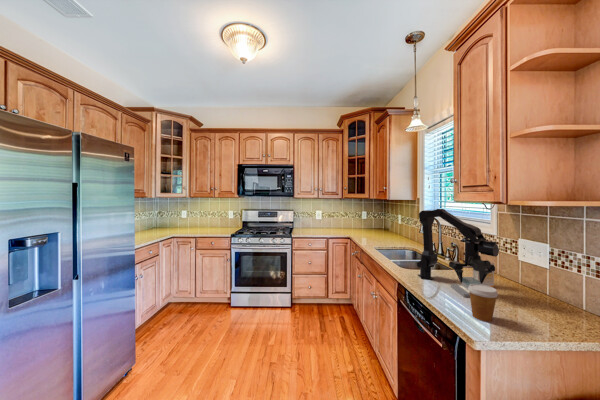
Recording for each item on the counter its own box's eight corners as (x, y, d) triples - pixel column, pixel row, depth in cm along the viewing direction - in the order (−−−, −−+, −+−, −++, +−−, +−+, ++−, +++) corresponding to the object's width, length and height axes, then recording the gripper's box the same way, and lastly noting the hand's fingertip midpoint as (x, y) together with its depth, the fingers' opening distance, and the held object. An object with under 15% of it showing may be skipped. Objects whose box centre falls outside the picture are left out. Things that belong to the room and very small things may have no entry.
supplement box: (488, 284, 131) (488, 260, 131) (494, 287, 126) (494, 262, 126) (472, 283, 132) (472, 260, 132) (477, 286, 127) (478, 262, 127)
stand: (450, 286, 127) (450, 283, 127) (477, 288, 125) (477, 285, 125) (464, 297, 114) (464, 293, 114) (493, 298, 113) (493, 295, 112)
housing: (469, 291, 117) (469, 281, 117) (461, 286, 124) (461, 276, 123) (480, 292, 116) (480, 282, 116) (472, 286, 123) (472, 277, 123)
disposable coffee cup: (471, 309, 102) (471, 281, 102) (499, 318, 95) (500, 288, 95) (464, 317, 96) (465, 287, 95) (494, 326, 88) (495, 294, 88)
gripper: (460, 255, 112) (459, 288, 113) (503, 256, 110) (503, 290, 110) (448, 250, 124) (448, 280, 124) (488, 251, 121) (487, 281, 122)
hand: (471, 283), depth 120 cm, fingers open, 9 cm apart
